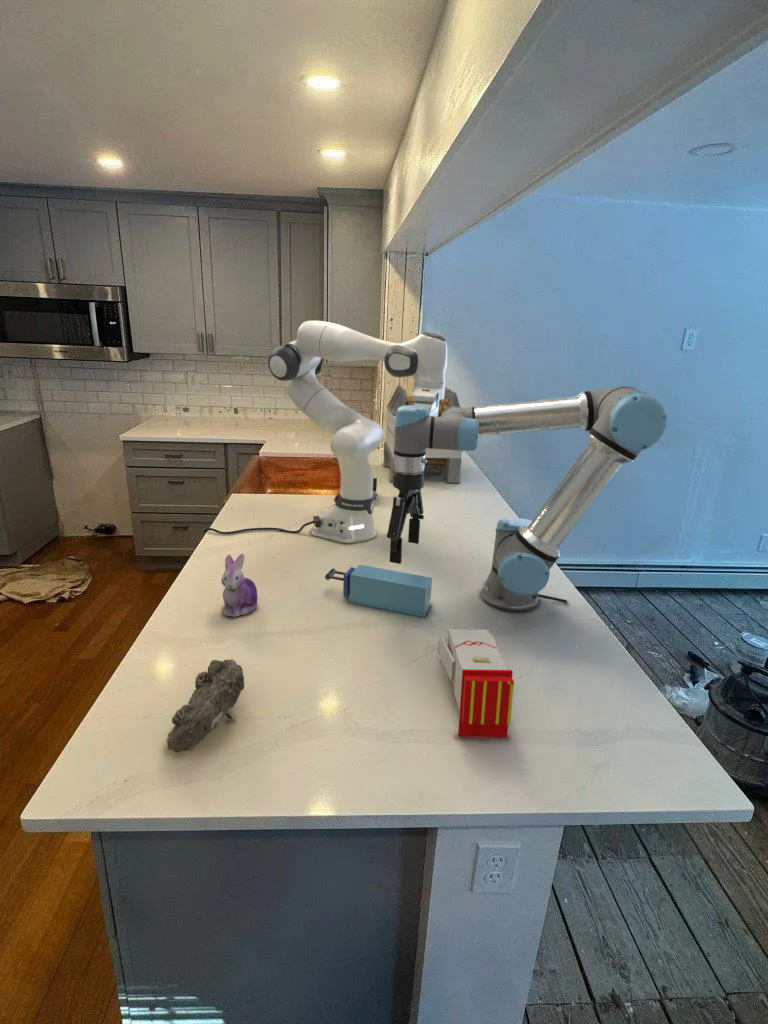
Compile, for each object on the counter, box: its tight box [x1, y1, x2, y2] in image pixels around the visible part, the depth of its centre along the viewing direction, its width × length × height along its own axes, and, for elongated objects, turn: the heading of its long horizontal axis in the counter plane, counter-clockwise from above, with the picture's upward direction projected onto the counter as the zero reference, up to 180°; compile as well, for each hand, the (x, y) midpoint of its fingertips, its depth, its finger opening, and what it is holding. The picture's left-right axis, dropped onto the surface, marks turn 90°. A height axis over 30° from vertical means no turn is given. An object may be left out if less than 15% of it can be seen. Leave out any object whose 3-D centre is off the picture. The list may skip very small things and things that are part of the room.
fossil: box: [166, 658, 245, 754], centre depth 106 cm, size 22×10×15 cm
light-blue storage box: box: [349, 564, 433, 618], centre depth 151 cm, size 21×7×8 cm, turn 72°
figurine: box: [220, 553, 258, 618], centre depth 144 cm, size 9×10×15 cm
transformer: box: [383, 384, 463, 484], centre depth 268 cm, size 34×33×41 cm
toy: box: [437, 628, 515, 738], centre depth 117 cm, size 12×13×30 cm
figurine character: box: [373, 477, 378, 500], centre depth 233 cm, size 7×8×15 cm
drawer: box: [324, 566, 356, 598], centre depth 153 cm, size 25×6×6 cm, turn 72°
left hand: (425, 439), depth 168 cm, fingers open, 8 cm apart
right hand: (404, 552), depth 143 cm, fingers open, 13 cm apart
